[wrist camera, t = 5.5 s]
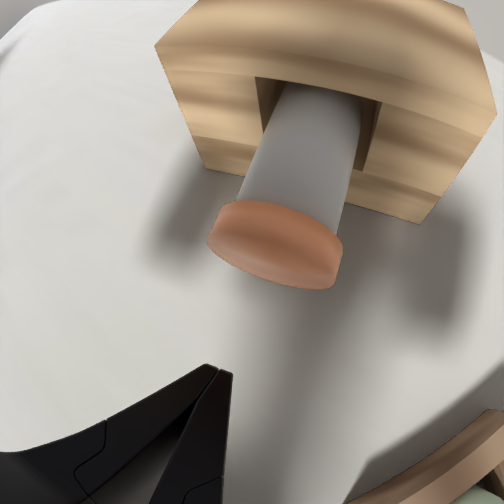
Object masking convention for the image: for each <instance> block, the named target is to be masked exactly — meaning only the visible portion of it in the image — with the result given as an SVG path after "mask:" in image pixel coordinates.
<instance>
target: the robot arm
mask: <svg viewBox="0 0 504 504" xmlns="http://www.w3.org/2000/svg"><path fill="white" fill-rule="evenodd" d="M232 382H233V374H232V373H231V372H228V371H226V370H223V369H218V368H217V367H215V366H212V365H210V364H203V365H201V366H200V367H198V368H196V369H195V370H193V371H191V372H190V373H188V374H186V375H184V376H183V377H181V378H179V379H178V380H176V381H174V382H172V383H171V384H169V385H167V386H166V387H164V388H162V389H160V390H158V391H157V392H155V393H153V394H151V395H150V396H148V397H146V398H144V399H142V400H141V401H139V402H137V403H135V404H133V405H131V406H130V407H128V408H126V409H124V410H122V411H120V412H118V413H117V414H115V415H113V416H111V417H109V418H107V421H106V420H103V421H101V422H99V423H97V424H95V425H93V426H91V427H89V428H87V429H85V430H83V431H80V432H78V433H76V434H73V435H70V436H68V437H65V438H62V439H59V440H56V441H53V442H50V443H47V444H44V445H41V446H38V447H34V448H31V449H28V450H24V451H18V452H0V504H148V502H149V501H150V502H149V504H223V486H224V472H225V461H226V449H227V438H228V426H229V415H230V404H231V393H232Z"/></svg>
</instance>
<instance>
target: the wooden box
mask: <svg viewBox="0 0 504 504" xmlns="http://www.w3.org/2000/svg"><path fill="white" fill-rule="evenodd" d="M154 47H155V49H156V52H157V54H158V57H159V59H160V61H161V64H162V66H163V69H164V71H165V73H166V76H167V78H168V81H169V83H170V85H171V88H172V90H173V93H174V95H175V97H176V100H177V102H178V105H179V107H180V109H181V112H182V114H183V116H184V119H185V121H186V124H187V126H188V128H189V131H190V133H191V135H192V138H193V140H194V142H195V145H196V147H197V150H198V152H199V154H200V157H201V159H202V161H203V164H204V166H205V168H206V169H211V170H216V171H221V172H225V173H230V174H235V175H239V176H244V177H245V176H246V174H247V171H248V169H249V167H250V164H251V162H252V159H253V157H254V155H255V152H256V150H257V148H258V145H259V143H260V141H261V138H262V136H263V134H264V131H265V129H266V127H267V125H268V122H269V120H270V118H271V115H272V113H273V111H274V109H275V106H276V104H277V102H278V100H279V97H280V95H281V93H282V91H283V88H284V86H285V85H286V84H287V83H288V82H289V81H291V82H296V83H302V84H307V85H313V86H318V87H323V88H328V89H332V90H337V91H341V92H345V93H350V94H354V95H358V96H359V97H360V99H361V101H362V103H363V108H364V114H363V120H362V125H361V130H360V135H359V140H358V145H357V149H356V154H355V159H354V163H353V168H352V172H351V177H350V181H349V185H348V190H347V194H346V198H345V202H346V203H350V204H354V205H357V206H360V207H364V208H367V209H371V210H374V211H377V212H381V213H384V214H387V215H391V216H394V217H397V218H400V219H404V220H407V221H410V222H413V223H416V224H419V225H420V224H421V222H422V221H423V220H424V219H425V217H426V216H427V215H428V214H429V212H430V211H431V210H432V208H433V207H434V206H435V204H436V203H437V202H438V200H439V199H440V198H441V196H442V195H443V194H444V192H445V191H446V190H447V188H448V187H449V186H450V184H451V183H452V181H453V180H454V179H455V177H456V176H457V174H458V173H459V172H460V170H461V169H462V167H463V166H464V164H465V163H466V162H467V160H468V159H469V157H470V156H471V154H472V153H473V151H474V150H475V148H476V147H477V145H478V144H479V142H480V141H481V139H482V138H483V136H484V134H485V133H486V131H487V130H488V128H489V127H490V125H491V123H492V122H493V120H494V119H495V117H496V115H497V111H496V106H495V102H494V98H493V94H492V90H491V86H490V82H489V79H488V75H487V72H486V68H485V65H484V62H483V59H482V55H481V52H480V49H479V46H478V44H477V41H476V38H475V35H474V33H473V30H472V27H471V25H470V22H469V20H468V17H467V15H466V13H465V10H464V8H461V7H459V6H456V5H454V4H451V3H448V2H446V1H443V0H199V1H198V2H197V3H195V4H194V5H193V6H192V7H191V8H190V9H189V10H188V11H187V12H186V13H185V14H184V15H183V16H182V17H181V18H180V19H179V20H178V21H177V22H176V23H175V24H174V25H173V26H172V27H171V28H170V29H169V30H168V31H167V32H166V34H165V35H164V36H163V37H162V38H161V39H160V40H159V41H158V42H157V43H156V44H155V46H154Z"/></svg>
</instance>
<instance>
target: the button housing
mask: <svg viewBox="0 0 504 504" xmlns="http://www.w3.org/2000/svg"><path fill="white" fill-rule="evenodd" d="M481 479H482V481H483V484H484V487H485V490H486V491H488V492H490V493H492V494H494V495H496V496H498V497H500V498H501V499H502V500H503V501H504V411H498V410H490V409H487V410H486V411H485V412H484V413H483V414H482V415H480V416H479V417H478V418H477V419H476V420H475V421H473V422H472V423H471V424H470V425H469V426H467V427H466V428H465V429H464V430H462V431H461V432H460V433H459V434H457V435H456V436H455V437H453V438H452V439H451V440H450V441H448V442H447V443H446V444H444V445H443V446H441V447H440V448H439V449H437V450H436V451H434V452H433V453H432V454H430V455H429V456H427V457H426V458H424V459H423V460H421V461H420V462H418V463H417V464H415V465H414V466H412V467H411V468H409V469H408V470H406V471H404V472H403V473H401V474H399V475H398V476H396V477H394V478H393V479H391V480H389V481H388V482H386V483H384V484H382V485H381V486H379V487H377V488H375V489H373V490H371V491H370V492H368V493H366V494H364V495H362V496H360V497H358V498H356V499H354V500H352V501H350V502H348V503H346V504H449V503H451V502H452V501H453V500H455V499H456V498H457V497H459V496H460V495H462V494H463V493H464V492H465V491H467V490H468V489H469V488H471V487H472V486H473V485H474V484H476V483H477V482H478V481H479V480H481Z"/></svg>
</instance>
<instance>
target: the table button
mask: <svg viewBox="0 0 504 504" xmlns="http://www.w3.org/2000/svg"><path fill="white" fill-rule="evenodd" d="M449 504H504V501H503V500H502V499H501V498H500V497H498V496H496V495H494V494H492V493H490V492H488V491H486V490H484V489H483V488H481V487H479V486H477V485H475V484H474V485H473V486H472V487H471V488H469V489H468V490H467V491H465V492H464V493H463V494H462V495H460V496H459V497H457V498H456V499H455V500H453V501H452V502H451V503H449Z"/></svg>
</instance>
